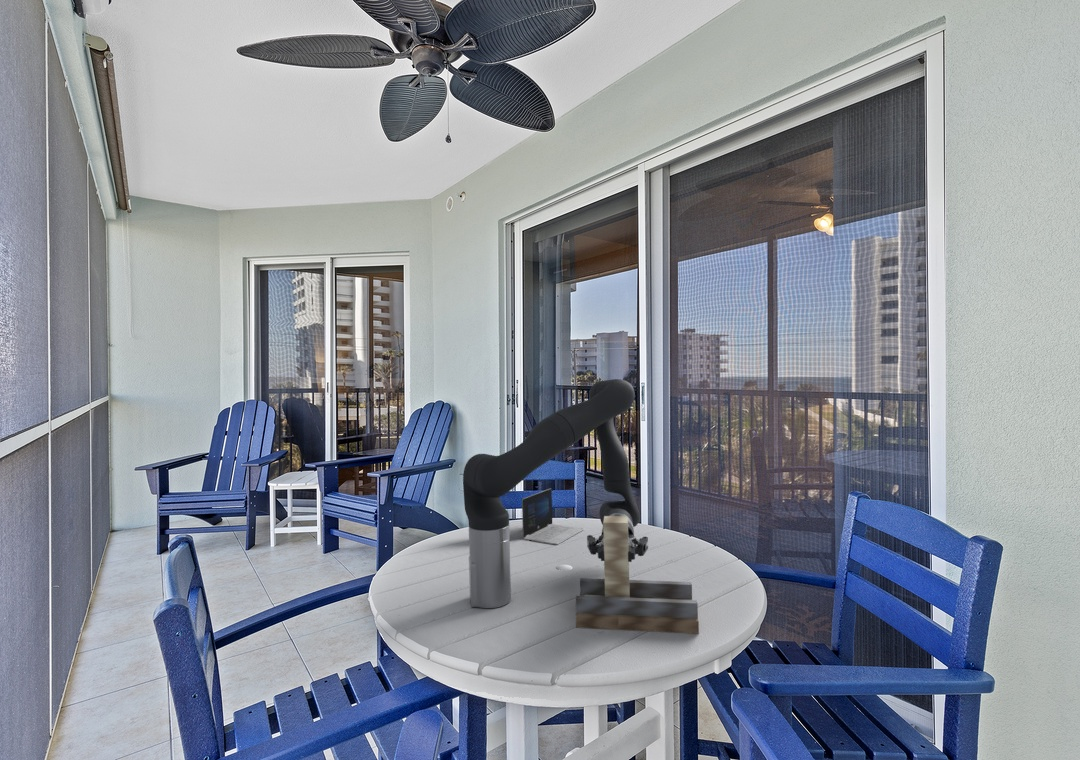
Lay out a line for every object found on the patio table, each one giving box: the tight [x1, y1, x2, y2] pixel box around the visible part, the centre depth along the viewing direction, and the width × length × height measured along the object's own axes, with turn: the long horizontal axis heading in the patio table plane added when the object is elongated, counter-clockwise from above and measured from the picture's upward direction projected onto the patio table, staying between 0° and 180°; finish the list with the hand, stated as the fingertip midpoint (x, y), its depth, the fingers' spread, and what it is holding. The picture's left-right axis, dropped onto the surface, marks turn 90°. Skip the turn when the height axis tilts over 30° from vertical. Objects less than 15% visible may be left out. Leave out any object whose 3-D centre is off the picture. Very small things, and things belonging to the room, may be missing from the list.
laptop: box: [521, 487, 585, 546], centre depth 173 cm, size 18×12×13 cm
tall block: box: [602, 516, 630, 598], centre depth 114 cm, size 5×5×16 cm
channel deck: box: [575, 577, 700, 635], centre depth 114 cm, size 24×13×6 cm, turn 81°
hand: (616, 556), depth 112 cm, fingers closed on tall block, 5 cm apart
